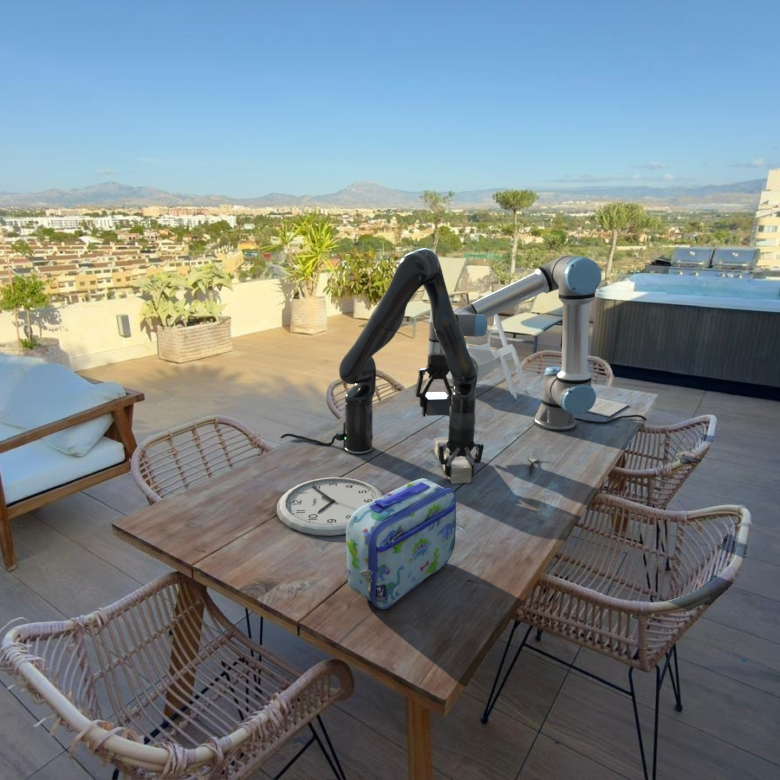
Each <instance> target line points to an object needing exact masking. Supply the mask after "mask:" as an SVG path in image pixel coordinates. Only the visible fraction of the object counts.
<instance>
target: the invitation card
mask: <svg viewBox="0 0 780 780" xmlns="http://www.w3.org/2000/svg"><path fill="white" fill-rule="evenodd" d="M628 406H629V404H627V403H623V402H618V401H614V400H609V399H605V398H601V397H597V396H596V401H595V403H594V405H593V407H592V408H590V409H589V410H588V411H587V413H593V414H596V415H600V416H604V417H608V418H609V417H611V416H613V415H614V414H616V413H617V412H619V411H621V410H623V409H624V408H626V407H628Z"/></svg>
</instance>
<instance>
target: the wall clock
mask: <svg viewBox="0 0 780 780" xmlns="http://www.w3.org/2000/svg"><path fill="white" fill-rule="evenodd" d="M384 495H385V494H384V493H383V492H382V491H381V490H380V489H379V488H377V487H376V486H374V485H372V484H371V483H369V482H365V481H362V480H359V479H355V478H349V477H338V476H337V477H335V476H333V477H332V476H331V477H322V478H317V479H312V480H307V481H305V482H302V483H299V484H297V485H295V486H293V487H292V488H290V489H288V490H287V491H286V492H285V493H284V494H283V495H281V496H280V498H279V499H278V502H277V503H276V515H277V517H278V518H279V520H280V521H281V522H282V523H283V524H285V525H286V526H287V527H288V528H290V529H293V530H295V531H297V532H299V533H303V534H308V535H312V536H327V537H328V536H329V537H331V536H332V537H333V536H342V535H346V528H347V524H348V521H349V519H350V517H351V515H352V514H353V513H354V512H355V511H356V510H357V509H358V508H360V507H362V506H364V505H366V504H368V503H370V502H372V501H374V500H376V499H378V498H380V497H382V496H384Z"/></svg>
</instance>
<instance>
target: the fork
mask: <svg viewBox="0 0 780 780" xmlns="http://www.w3.org/2000/svg"><path fill="white" fill-rule="evenodd" d="M538 460H539V453H537V452H535V451H533V450H531V452H530V456H529V461H531V463H530V465H529V475H531V474H532V472H533V470H534V462H538Z"/></svg>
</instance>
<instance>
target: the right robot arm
mask: <svg viewBox="0 0 780 780" xmlns="http://www.w3.org/2000/svg"><path fill="white" fill-rule="evenodd" d="M601 282H602V270H601V267H600V266H599V264H598V263H597V262H596V261H595V260H593V259H591V258H588V257H586V256H580V255H579V256H578V255H569V254H568V255H563V256H559V257H558V258H555V259H553V260H552V261H549V262H547V263H545V264H543V265H542V266H540V267H537V268H536V269H535V271H534V273H531V274H529V275H527V276H525V277H523V278H520V279H519V280H517V281H515V282H513V283H510V284H508V285H507V286H504V287H502V288H500V289H498V290H496V291H494V292H491V293H490V294H488V295H486V296H483V297H481V298H479V299H477V300H475V301H473V302H471V303H469V304H467V305H465V306H457V307H455V308H453V311H454V314H455V316H456V319H457V321H458V323H459V326H460V328H461V330H462V332H463V335H464V337H475V338H477V337H484V336H486V334H487V331H488V326H489V325H488V323H489V322H488V319H489V318H491V317H494V315H496V314H498V315H499V314H500V313H502V312H504V311H506V310H508V309H511V308H513V307H515V306H517V305H519V304H521V303H524V302H525V301H528V300H530V299H532V298H534V297H536V296H539V295H540V294H542V293H544V294H549V293H551V292H553V291H557V290H558V300H559V301H560V302H561V303H562V327H561V328H562V329H561V330H562V333H561V335H562V336H561V339H562V340H561V366H548V367H546V368H545V370H544V373H543V381H542V382H543V383H542V394H541V402H540V405H539V406H536V407H535V411H536V413H535V416H534V424H535V425H536V426H537V427H539V428H542V429H544V430H549V431H556V432H567V431H572V430H574V429H575V428H576V421H577V422H583V423H588V424H589V423H590V424H598V425H605V424H610V423H612V422H614V421H617V420H620V419H629V418H630V419H631V418H641V419H643V420H644V421H647V418H646V417H645V416H644V415H641V414H627V415H620V416H616V417H614V418H611V419H609V420H603V421H601V420H590V419H585V418H584V419H583V418H579V417H576V416H575V415H582V414H586V413H588V410H589V409H590V408H592V407H593V405H594V403H595V401H596V397H597V394H596V391H595V389H594V388H593V387H592V378H593V377H592V373H590V371H588V357H589V356H588V355H589V334H590V333H589V331H590V310H591V309H590V306H591V302H592V301H593V300H594V299H595V298H596V290H597V289H598V287H599V286H600V284H601ZM427 351H428V353H427V365H426V367H423V368H418V370H417V371H418V376H417V381H416V385H415V390H414V396H415V397H416V398H419V406H420V408H421V415H422V417H426V416H427V414H426V398H425V395H426V393H427V392H428V391H429V390H430V387H431V386H432V383H433V382H434V381H435V380H441V379H443V381H442V383H443V385H444V387H445V389H446V391H447V395H448V396H449V398H450V407H451V398H452V392H453V390H452V389H454V378H453V377H452V382H453V384H452V388H451V386H450V385H451V384H450V385H449V383H448V380H447V377H446V375H447V374H448V373H449V371H450V369H449V366H448V363H447V360H446V356H445V353H444V351H443V349H442V347H441V345H440V342H439V340H438V338H437V336H436V333H435V331H434V327H433V322H432V313H431V310H430V313H429V320H428V346H427ZM426 372H427V375H428V376H427V378H426V381H425V383H424V385H423V381H424V376H425V375H426ZM450 373H451V372H450ZM422 385H423V386H422ZM446 417H450V415H446Z"/></svg>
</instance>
